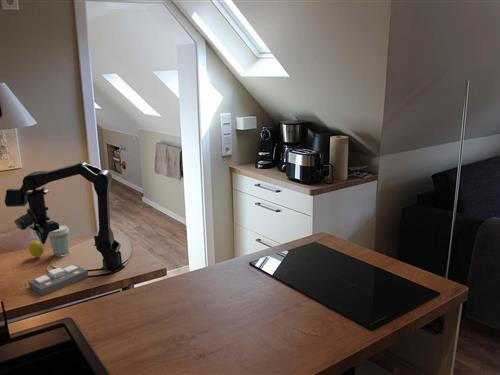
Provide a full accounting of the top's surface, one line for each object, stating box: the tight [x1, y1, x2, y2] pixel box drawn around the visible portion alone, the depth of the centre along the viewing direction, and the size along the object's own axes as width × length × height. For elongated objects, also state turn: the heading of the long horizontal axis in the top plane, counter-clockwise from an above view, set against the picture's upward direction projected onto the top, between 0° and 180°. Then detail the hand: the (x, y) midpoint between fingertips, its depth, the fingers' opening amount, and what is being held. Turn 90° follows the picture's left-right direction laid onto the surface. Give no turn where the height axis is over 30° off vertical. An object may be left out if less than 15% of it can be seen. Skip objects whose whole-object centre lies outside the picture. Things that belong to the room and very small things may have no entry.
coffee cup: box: [48, 224, 70, 257], centre depth 188 cm, size 8×8×12 cm
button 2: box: [62, 264, 78, 274], centre depth 169 cm, size 4×4×2 cm
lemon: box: [28, 239, 45, 258], centre depth 186 cm, size 6×6×8 cm
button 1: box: [34, 274, 51, 285], centre depth 161 cm, size 4×4×2 cm
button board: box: [28, 263, 89, 296], centre depth 164 cm, size 18×10×3 cm, turn 140°
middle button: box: [48, 267, 65, 279], centre depth 164 cm, size 4×4×2 cm
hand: (43, 243), depth 170 cm, fingers closed
